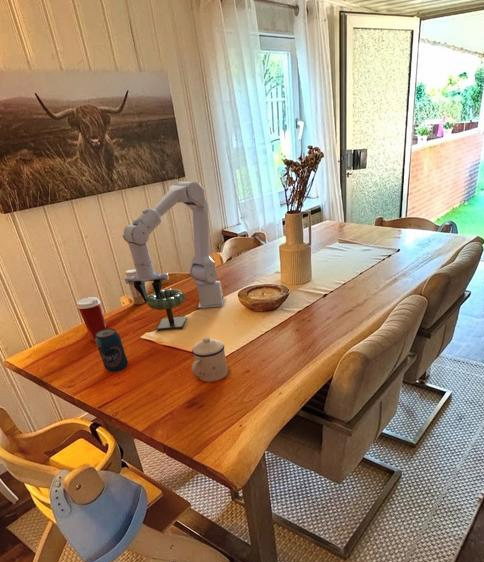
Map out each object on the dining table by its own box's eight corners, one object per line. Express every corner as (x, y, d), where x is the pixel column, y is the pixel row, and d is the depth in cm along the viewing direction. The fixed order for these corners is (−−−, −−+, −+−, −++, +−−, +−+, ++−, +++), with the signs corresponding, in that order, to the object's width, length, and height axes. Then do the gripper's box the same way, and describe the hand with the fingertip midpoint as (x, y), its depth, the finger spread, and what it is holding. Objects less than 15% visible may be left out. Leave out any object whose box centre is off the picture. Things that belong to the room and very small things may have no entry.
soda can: (106, 375, 129) (93, 339, 122) (105, 365, 134) (92, 330, 128) (130, 369, 131) (118, 333, 124) (127, 360, 136) (116, 325, 130)
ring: (188, 295, 158) (186, 286, 156) (182, 309, 147) (180, 299, 145) (152, 298, 158) (150, 289, 156) (144, 312, 147) (141, 302, 145)
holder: (186, 318, 161) (183, 302, 157) (182, 329, 153) (178, 311, 149) (162, 320, 161) (158, 304, 157) (157, 331, 153) (153, 314, 150)
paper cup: (116, 334, 154) (104, 296, 146) (102, 344, 148) (88, 305, 140) (98, 332, 156) (85, 295, 148) (84, 342, 150) (69, 304, 142)
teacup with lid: (211, 364, 130) (204, 328, 124) (235, 370, 126) (229, 334, 119) (184, 383, 122) (175, 346, 115) (208, 390, 118) (200, 353, 111)
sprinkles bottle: (147, 302, 178) (138, 270, 170) (136, 305, 176) (127, 273, 168) (143, 299, 181) (134, 268, 173) (132, 302, 179) (123, 270, 172)
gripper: (118, 268, 141) (129, 307, 149) (161, 264, 141) (171, 303, 148) (124, 261, 147) (134, 299, 154) (166, 258, 146) (174, 296, 154)
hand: (153, 301), depth 152 cm, fingers closed on ring, 4 cm apart
